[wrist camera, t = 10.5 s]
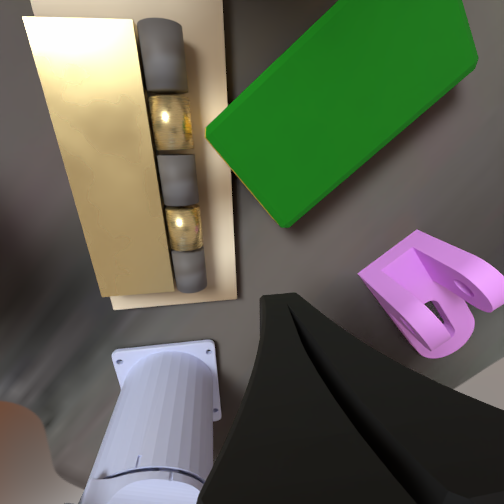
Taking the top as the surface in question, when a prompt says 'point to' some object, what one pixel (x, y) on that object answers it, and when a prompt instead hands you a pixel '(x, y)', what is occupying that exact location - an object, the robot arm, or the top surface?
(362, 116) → the dish sponge
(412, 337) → the bracket
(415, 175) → the top surface
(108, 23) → the strip
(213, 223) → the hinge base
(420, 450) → the robot arm
